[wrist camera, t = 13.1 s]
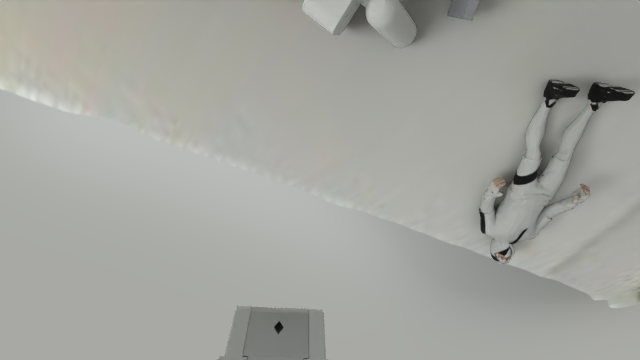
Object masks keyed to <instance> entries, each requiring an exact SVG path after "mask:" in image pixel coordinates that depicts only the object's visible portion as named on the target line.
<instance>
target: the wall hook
mask: <svg viewBox="0 0 640 360" xmlns="http://www.w3.org/2000/svg"><path fill="white" fill-rule="evenodd" d="M360 4H362V5H363V6H364V7H366V18H367V20H368V22H369V24H370V25H371V26H372V27H373V28H374V29H375V30H376V31H378V32H379V33H380V34H381V35H382V36H383V37H385V38H386V39H387V40H388V41H389V42H390V43H391V44H393V45H394V46H395V47H398V48H403V47H406V46H408V45H409V44H411V43H412V42H413V40H414V39H415V37H416V33H417V27H416V24H415V23H414V21H413V20H412V18H411V17H410V16H409V14H408V13H407V11H406V10H405V8H404V7H403V6H402V4H401V3H400V1H399V0H304V3H303V6H302V11H303V12H304V13H306V14H307V15H308V16H310V17H311V18H312V19H313V20H315V21H316V22H317V23H319V24H320V25H321V26H322V27H324V28H325V29H326V30H328V31H329V32H330V33H331V34H333V35H340V34H341V33H342V32H343V30H344V29H345V27H346V26H347V25H348V23H349V21H350V20H351V18H352V17H353V15H354V14H355V12H356V10H357V9H358V7H359V6H360Z"/></svg>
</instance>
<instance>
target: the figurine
mask: <svg viewBox="0 0 640 360" xmlns="http://www.w3.org/2000/svg"><path fill="white" fill-rule="evenodd" d="M579 90H580V89H579V88H578V87H576V86H574V85H571V84H565V83H564V82H562V81H558V80H549V82H548V84H547V86H546V88H545V91H544V97H545V98H544V101H543V103H542V105H541V106H540V108H539V109H538V111H537V113H536V114H535V116H534V117H533V119H532V120H531V122H530V124H529V127H528V129H527V132H526V135H525V140H526V148H527V153H526V155H525V156H524V155H523V157H522V161H521V163H520V165H519V167H518V169H517V171H516V174H515V176H514V179H513V182H512V183H511V184H510V185H509V187H508V188H507V194H506V197H505V199H504V200H503V201H502V202H501V204H500V205H499V207H498V208H497V209H496V210H495V208H494V202H495V199H496V197H500V196H502V195H503V193H502V192H500V191H499V190H500V188H501V187H502V186H504V185H506V183H503V182H505V181H504V180H503V178H496V179H494V180H493V181H492V182H491V183H490V185H489V186H488V187H487V190H486V191H485V194H484V195H483V196H482V201H481V207H480V208H479V212H480V217H481V232H482V233H483V234H485V235H488V236H490V237H492V238H494V239H492V241H491V246H490V252H491V256H492V258H493V259H494V260H495V261H496V262H498V263H500V264H502V265H505V264H507V263H508V262H509V261H510V260H511V259H512V257H513V256H514V253H515V251H514V247H513V244H514V243H516V242H517V241H522V240H528V239H533V238H535V237H536V236H537V235H538V233H539V232H540V231H541V230H542V229H543V228H544V226H545V225H546V224H547V223H548V222H549V221H551V220H552V217H554V216H556V215H558V214H560V213H562V212H564V211H567V210H569V209H573V208H574V207H575V206H577V205H578V204H579V203H582V202H584V200H585V199H587V198H588V197H589V195H590V193H589V192H590V190H589V188H588V187H586V186H585V185H582V184H580V186H581V188H580V189H578V190H577V191H576V192H574V193H573V195H572V197H568V198H567V199H563V200H561V201H559V202H556V203H553V204H550V205H548V206H546V207H544V206H545V205H547V204H549V200H551V199H553V196H554V194H555V193H556V192H557V190H558V189H559V187H560V185H561V183H562V182H563V180H564V178H565V175H566V172H567V169H568V166H569V164H570V161H571V157H572V154H573V150H574V148H575V147H576V145H577V143H578V141H579V140H580V138H581V136H582V134H583V131H584V129H585V127H586V125H587V123H588V120H589V118H590V117H591V115H592V113H593V111H596V110H597V109H598V108H599V107H600V106H601V104H602V103H605V102H607V101H627V100H629V99H630V98H631V97H632V96H633V95H634V94H635V92H634V91H632V90H629V89H625V88H622V87H613V86H610V85H608V84H604V83H598V82H595V83H593V85H592V87H591V89H590V91H589V93H588V100H589V101H588V104H587V106H586V107H585V108H584V110H583V111H582V112H581V114H580V115H579V116H578V117H577V118H576V119H575V120H574V121H573V122H572V123H571V124H570V125H569V126H568V128H567V129H566V130H565V131H564V133H563V137H562V140H561V144H560V147H559V151H558V152H557V153H556V154H555V156H552V158H551V160H550V162H549V164H548V166H547V167H546V169H545V170H544V171H543V173H542V174H541V175H540V176H538V177H537V171H538V168H539V165H540V163H541V160H542V157H541V151H540V149H539V147H540V143H541V141H542V138H543V136H544V133H545V124H546V119H547V116H548V113H549V110H550V108H551V107H552V106H553V105H554V104H555V103H556V101H557V100H558V99H560V98H568V97H575V96H576V94H577V93H578V92H579ZM540 157H541V158H540ZM501 183H502V184H501ZM499 184H500V185H499Z"/></svg>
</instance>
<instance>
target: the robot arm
mask: <svg viewBox="0 0 640 360" xmlns="http://www.w3.org/2000/svg"><path fill="white" fill-rule="evenodd" d="M324 332H325V331H324V313H323V310H315V309H296V308H267V307H252V306H237V308H236V310H235V314H234V317H233V322H232V326H231V331H230V335H229V339H228V344H227V348H226V353H225V356H220V357H219V358H218V359H217V360H326V353H325V333H324Z"/></svg>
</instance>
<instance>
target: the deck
mask: <svg viewBox="0 0 640 360" xmlns="http://www.w3.org/2000/svg"><path fill="white" fill-rule="evenodd" d="M479 1H480V0H452V3H451V6H450V9H449V12H448V15H447V16H452V17H456V18H461V19H467V20H473V17H474V15H475V12H476V9H477V6H478V4H479Z"/></svg>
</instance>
